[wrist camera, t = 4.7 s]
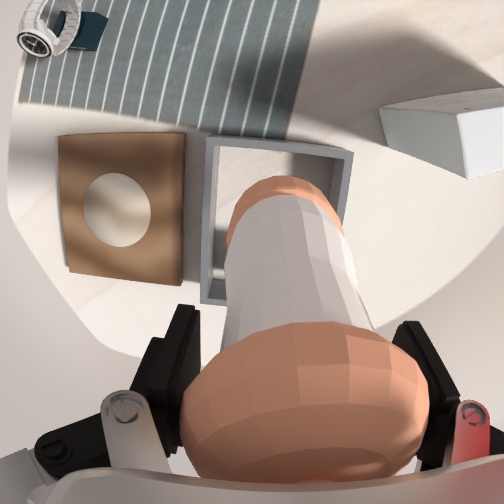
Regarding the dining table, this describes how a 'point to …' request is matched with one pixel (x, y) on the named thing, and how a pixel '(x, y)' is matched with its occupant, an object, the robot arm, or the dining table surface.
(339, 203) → the bin
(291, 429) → the pepper shaker
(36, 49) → the watch
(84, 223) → the serving board
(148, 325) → the dining table surface
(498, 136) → the skincare box
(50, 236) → the dining table surface
